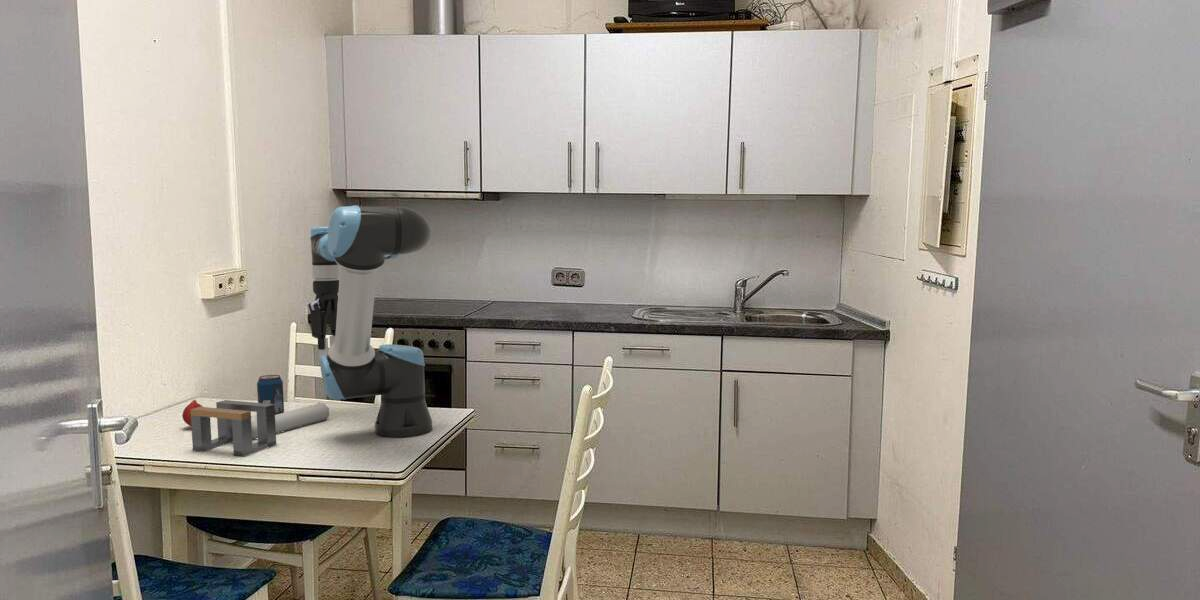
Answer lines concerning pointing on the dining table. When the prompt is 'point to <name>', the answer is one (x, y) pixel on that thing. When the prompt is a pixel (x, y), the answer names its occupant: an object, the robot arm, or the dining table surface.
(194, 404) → the onion
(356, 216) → the robot arm
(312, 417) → the tube
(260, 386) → the soda can
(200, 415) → the gray frame
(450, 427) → the dining table surface
